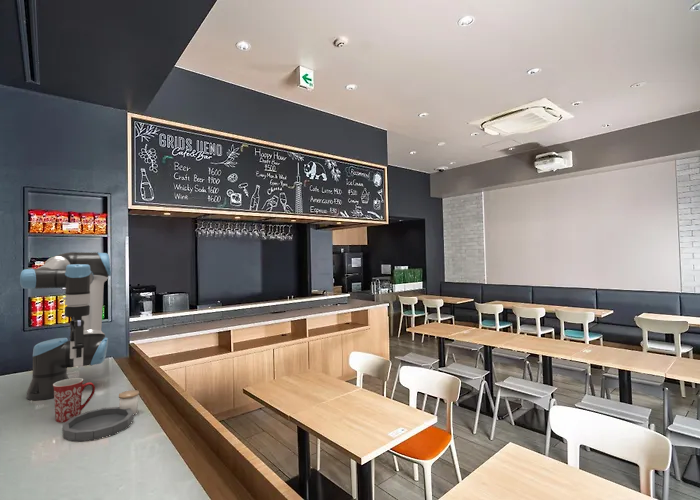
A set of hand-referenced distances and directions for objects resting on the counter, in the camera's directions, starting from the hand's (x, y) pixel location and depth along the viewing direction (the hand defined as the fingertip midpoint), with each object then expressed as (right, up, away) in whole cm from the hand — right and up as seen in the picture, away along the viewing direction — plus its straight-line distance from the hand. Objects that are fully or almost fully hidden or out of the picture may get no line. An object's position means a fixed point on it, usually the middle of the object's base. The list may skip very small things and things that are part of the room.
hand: (76, 362), depth 136 cm
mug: (0, -21, -1) cm, 21 cm away
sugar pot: (+18, -21, +2) cm, 28 cm away
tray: (+15, -20, -9) cm, 26 cm away
